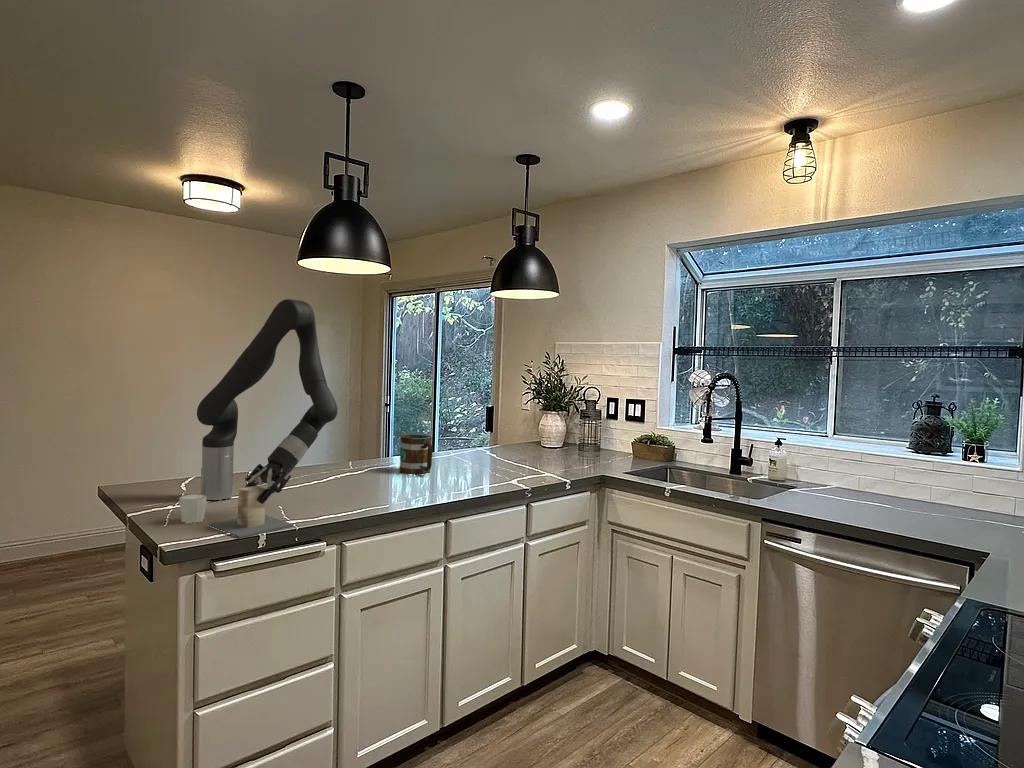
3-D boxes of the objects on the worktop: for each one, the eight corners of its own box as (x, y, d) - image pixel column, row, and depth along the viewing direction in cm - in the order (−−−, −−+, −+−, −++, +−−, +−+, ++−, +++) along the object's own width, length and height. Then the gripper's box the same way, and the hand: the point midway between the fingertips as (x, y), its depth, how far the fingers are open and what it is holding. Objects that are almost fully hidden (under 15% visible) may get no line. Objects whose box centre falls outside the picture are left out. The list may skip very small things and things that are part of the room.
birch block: (237, 524, 167) (238, 488, 167) (254, 520, 171) (255, 485, 171) (247, 527, 164) (248, 491, 164) (264, 524, 169) (265, 488, 168)
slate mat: (207, 526, 166) (207, 524, 166) (260, 515, 179) (260, 513, 179) (239, 538, 157) (239, 536, 157) (293, 526, 170) (293, 524, 170)
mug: (392, 470, 255) (394, 435, 255) (420, 467, 264) (422, 433, 263) (415, 479, 240) (416, 441, 239) (444, 476, 248) (445, 439, 248)
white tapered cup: (210, 518, 174) (211, 494, 174) (199, 524, 167) (199, 499, 167) (186, 517, 174) (186, 493, 173) (173, 523, 167) (174, 498, 167)
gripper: (266, 442, 178) (227, 487, 169) (295, 449, 170) (256, 495, 161) (281, 458, 183) (245, 502, 174) (310, 465, 174) (273, 511, 166)
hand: (250, 499), depth 167 cm, fingers open, 8 cm apart
